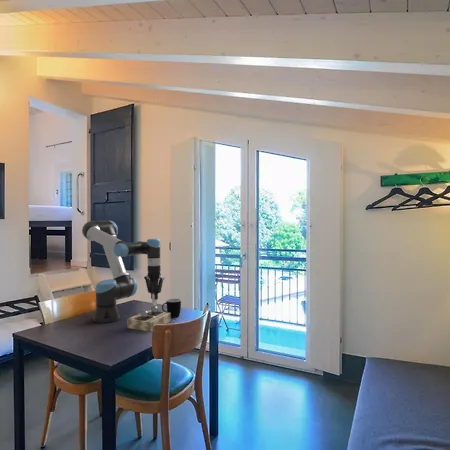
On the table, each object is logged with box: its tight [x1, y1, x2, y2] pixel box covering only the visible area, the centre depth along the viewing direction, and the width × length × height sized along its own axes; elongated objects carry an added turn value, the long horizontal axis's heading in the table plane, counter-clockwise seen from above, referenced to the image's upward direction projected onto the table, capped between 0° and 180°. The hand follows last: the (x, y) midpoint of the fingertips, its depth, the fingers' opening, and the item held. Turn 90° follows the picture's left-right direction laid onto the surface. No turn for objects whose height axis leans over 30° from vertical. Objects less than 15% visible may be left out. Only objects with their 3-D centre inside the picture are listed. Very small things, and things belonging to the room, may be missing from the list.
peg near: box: [140, 310, 148, 319], centre depth 199 cm, size 4×4×5 cm
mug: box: [161, 298, 182, 319], centre depth 220 cm, size 12×9×10 cm
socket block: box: [126, 309, 172, 333], centre depth 204 cm, size 16×20×5 cm
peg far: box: [150, 305, 158, 315], centre depth 208 cm, size 4×4×5 cm
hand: (154, 304), depth 208 cm, fingers closed
